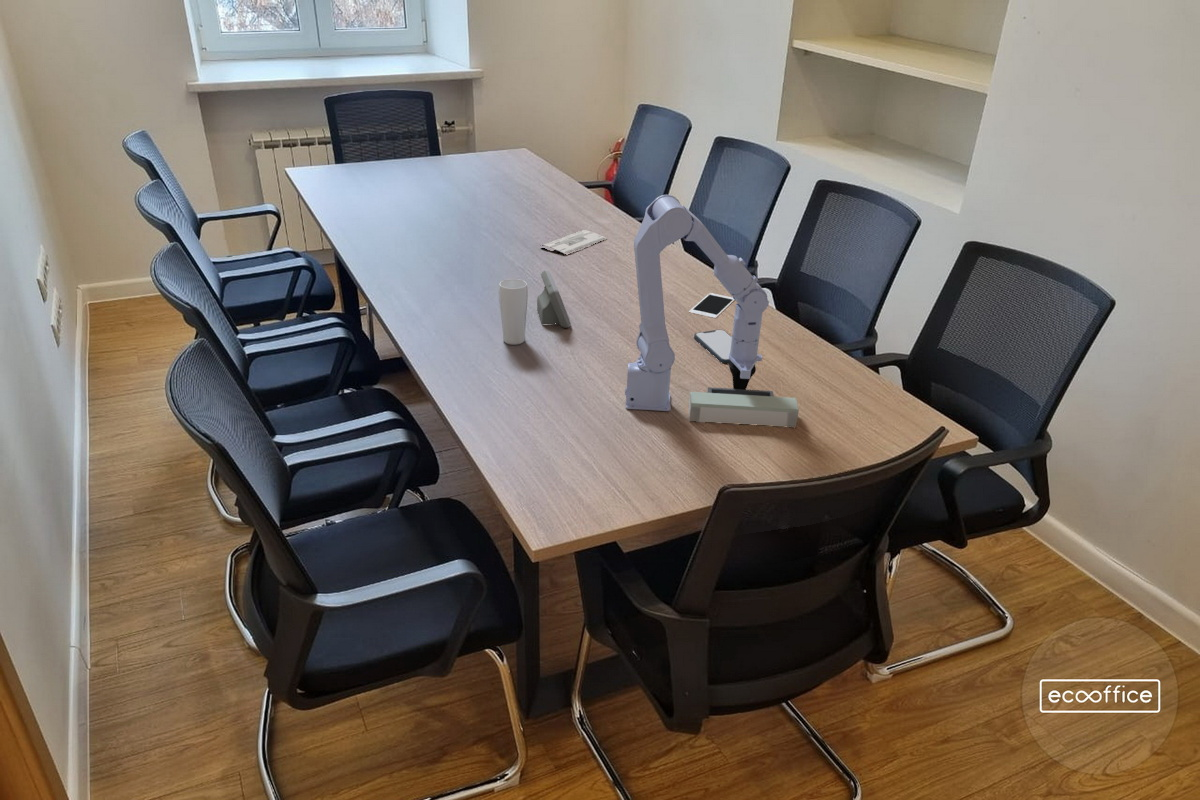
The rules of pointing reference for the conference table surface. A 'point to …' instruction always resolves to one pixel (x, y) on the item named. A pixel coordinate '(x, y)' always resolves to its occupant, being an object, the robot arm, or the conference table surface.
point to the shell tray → (740, 391)
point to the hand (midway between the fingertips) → (738, 393)
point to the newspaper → (575, 241)
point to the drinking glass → (513, 310)
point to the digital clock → (551, 303)
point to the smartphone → (716, 343)
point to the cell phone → (712, 305)
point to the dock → (743, 409)
